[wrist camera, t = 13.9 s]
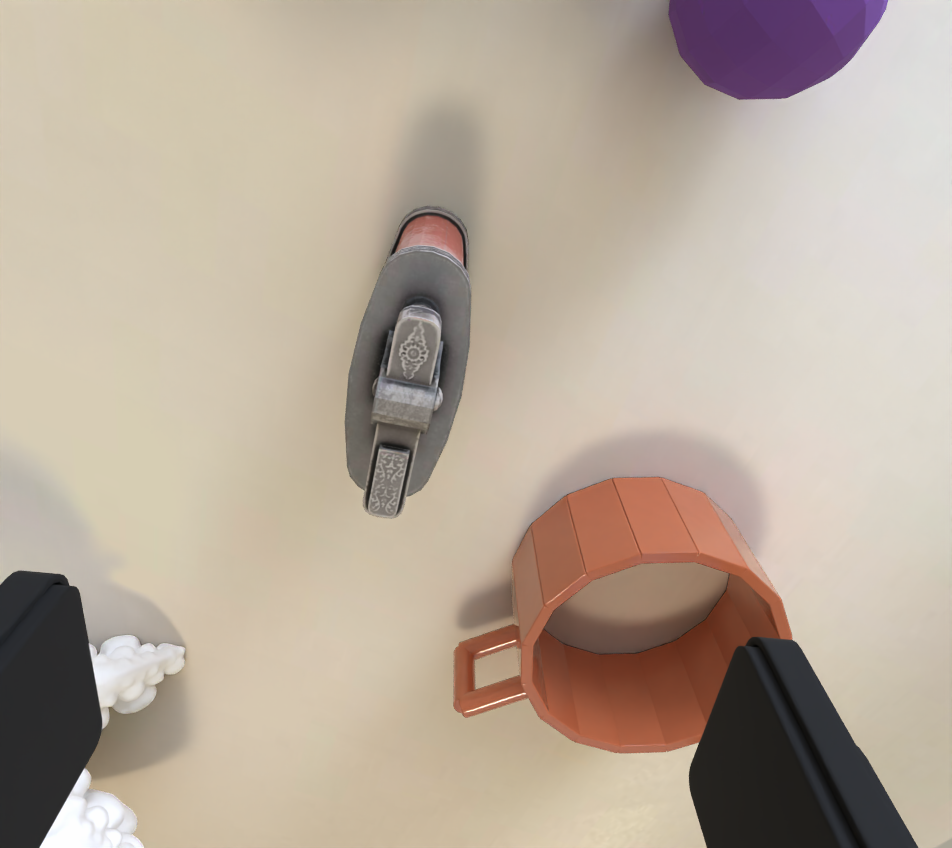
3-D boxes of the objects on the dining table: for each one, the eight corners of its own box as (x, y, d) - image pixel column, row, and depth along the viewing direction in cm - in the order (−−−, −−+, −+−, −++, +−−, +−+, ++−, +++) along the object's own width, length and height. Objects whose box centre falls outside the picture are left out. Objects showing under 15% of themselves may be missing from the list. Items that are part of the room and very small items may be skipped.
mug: (707, 442, 30) (756, 512, 25) (763, 619, 35) (814, 708, 30) (406, 553, 32) (397, 638, 28) (496, 705, 37) (502, 802, 32)
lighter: (394, 196, 25) (358, 259, 16) (484, 217, 26) (497, 290, 17) (360, 393, 29) (315, 535, 20) (440, 409, 29) (431, 555, 20)
